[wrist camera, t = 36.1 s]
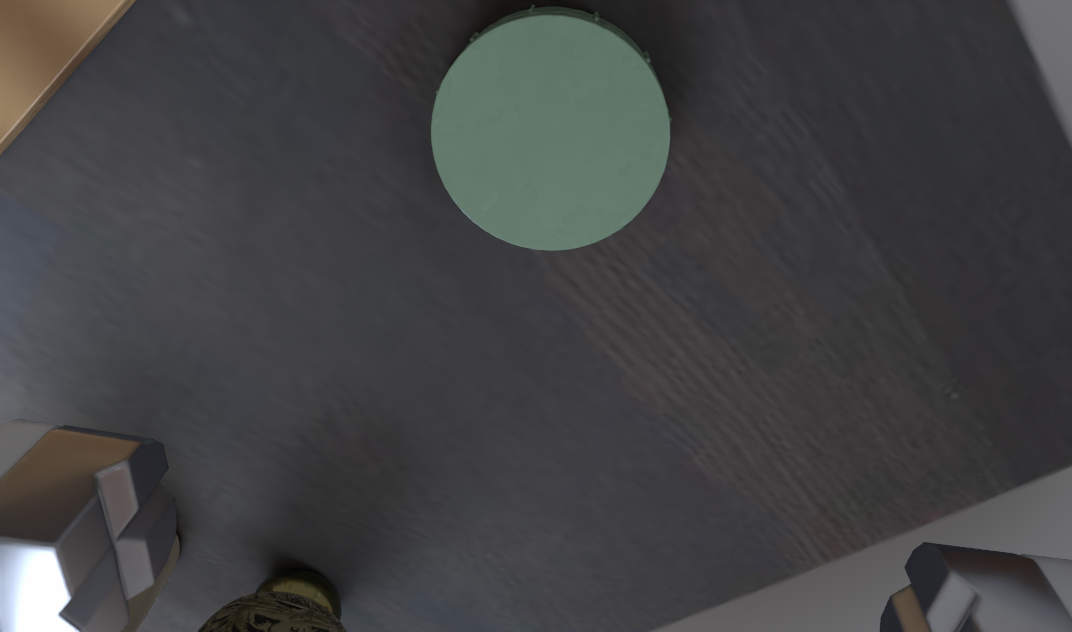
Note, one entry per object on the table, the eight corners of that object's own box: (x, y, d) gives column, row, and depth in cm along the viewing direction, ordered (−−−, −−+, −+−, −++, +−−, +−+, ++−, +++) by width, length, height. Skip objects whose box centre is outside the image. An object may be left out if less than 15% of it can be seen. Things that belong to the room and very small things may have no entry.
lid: (435, 217, 24) (427, 237, 22) (444, -8, 21) (434, 0, 19) (644, 242, 24) (647, 263, 22) (686, 20, 20) (692, 30, 19)
